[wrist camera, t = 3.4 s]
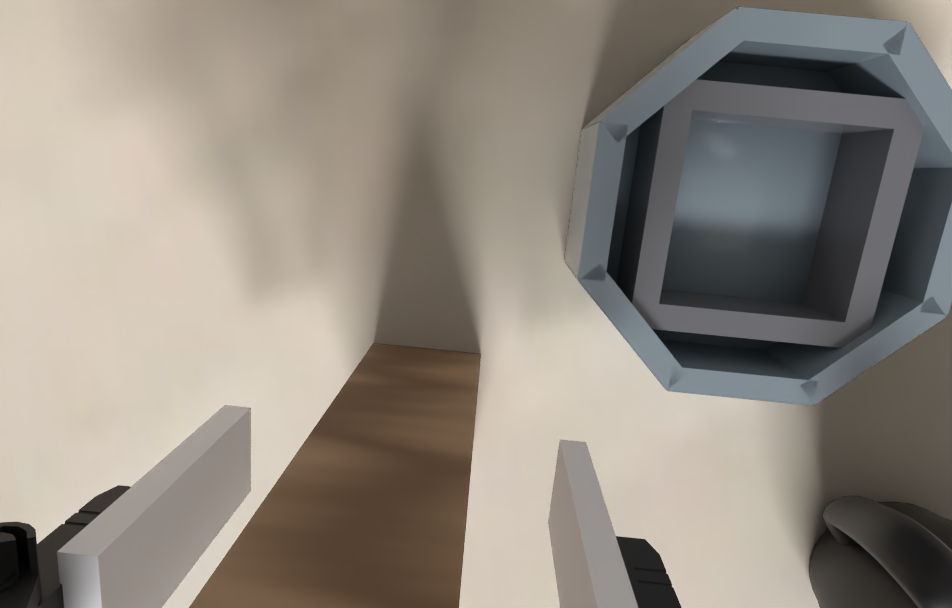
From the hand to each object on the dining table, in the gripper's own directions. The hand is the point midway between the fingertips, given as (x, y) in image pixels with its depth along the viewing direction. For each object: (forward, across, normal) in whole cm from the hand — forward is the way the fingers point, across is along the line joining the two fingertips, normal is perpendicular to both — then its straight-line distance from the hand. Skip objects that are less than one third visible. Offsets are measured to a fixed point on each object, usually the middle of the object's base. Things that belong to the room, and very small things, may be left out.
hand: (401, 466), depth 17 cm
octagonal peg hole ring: (+5, +10, +8) cm, 14 cm away
